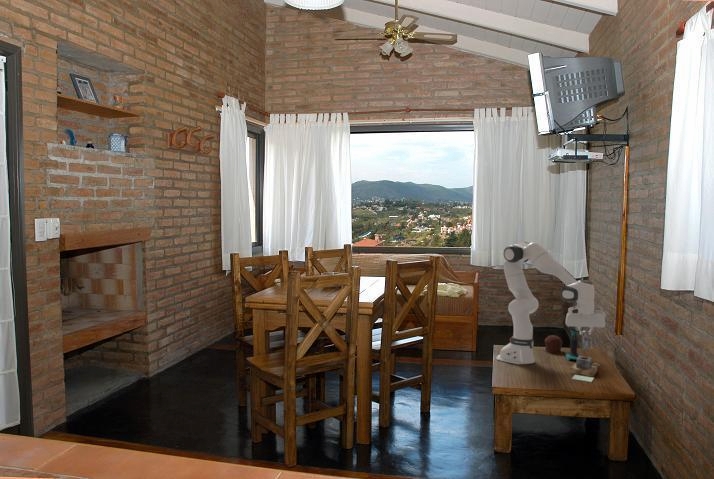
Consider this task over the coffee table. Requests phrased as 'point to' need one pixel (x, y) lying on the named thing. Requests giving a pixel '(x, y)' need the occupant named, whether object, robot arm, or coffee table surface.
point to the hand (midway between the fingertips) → (585, 334)
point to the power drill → (573, 343)
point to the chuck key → (585, 341)
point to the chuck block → (584, 366)
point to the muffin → (553, 344)
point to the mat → (583, 378)
